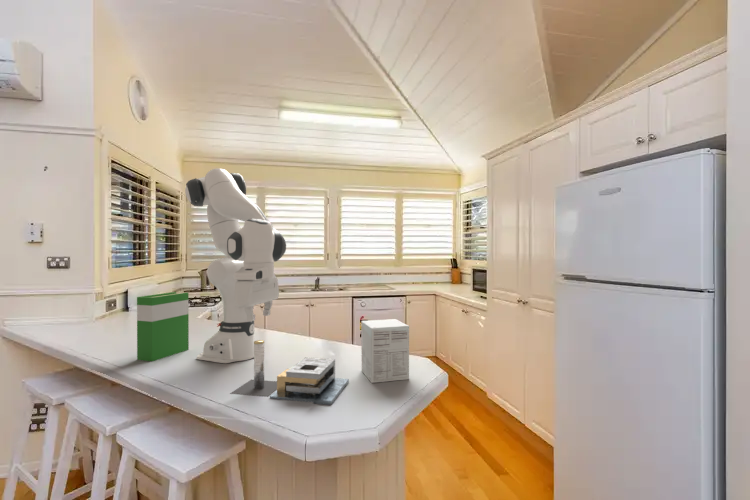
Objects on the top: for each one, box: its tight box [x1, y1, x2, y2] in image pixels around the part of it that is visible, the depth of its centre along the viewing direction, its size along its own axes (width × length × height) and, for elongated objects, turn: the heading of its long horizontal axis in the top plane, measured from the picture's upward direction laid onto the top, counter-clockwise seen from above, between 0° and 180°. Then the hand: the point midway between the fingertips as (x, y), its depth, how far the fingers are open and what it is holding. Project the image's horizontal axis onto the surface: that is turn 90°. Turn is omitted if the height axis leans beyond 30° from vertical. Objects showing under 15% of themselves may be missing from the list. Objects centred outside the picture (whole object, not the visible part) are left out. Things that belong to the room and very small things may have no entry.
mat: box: [229, 379, 277, 398], centre depth 115 cm, size 12×12×1 cm
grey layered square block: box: [269, 356, 350, 406], centre depth 114 cm, size 18×18×8 cm
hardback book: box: [136, 291, 190, 362], centre depth 152 cm, size 18×7×24 cm, turn 162°
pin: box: [253, 339, 265, 389], centre depth 115 cm, size 3×3×14 cm
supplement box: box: [360, 318, 410, 384], centre depth 128 cm, size 13×13×18 cm
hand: (259, 318), depth 115 cm, fingers open, 8 cm apart
